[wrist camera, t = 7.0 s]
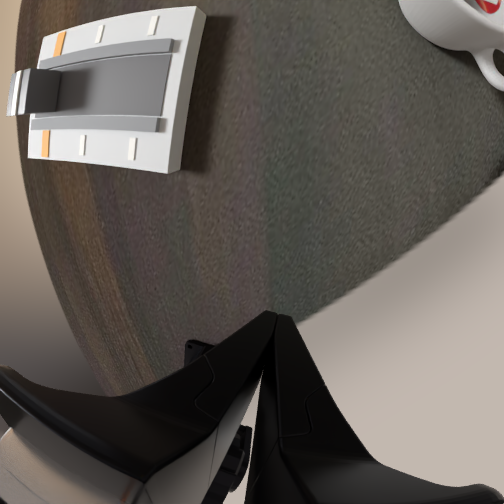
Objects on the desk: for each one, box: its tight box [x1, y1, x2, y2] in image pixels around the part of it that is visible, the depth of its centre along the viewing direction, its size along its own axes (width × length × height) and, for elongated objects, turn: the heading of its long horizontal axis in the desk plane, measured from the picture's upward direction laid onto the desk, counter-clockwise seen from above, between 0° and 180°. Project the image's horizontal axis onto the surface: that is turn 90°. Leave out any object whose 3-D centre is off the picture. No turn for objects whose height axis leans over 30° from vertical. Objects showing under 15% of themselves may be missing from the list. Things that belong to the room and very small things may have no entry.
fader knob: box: [7, 68, 61, 116], centre depth 16 cm, size 4×3×4 cm
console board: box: [28, 6, 206, 174], centre depth 18 cm, size 12×16×2 cm
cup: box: [399, 0, 504, 91], centre depth 9 cm, size 11×8×8 cm
